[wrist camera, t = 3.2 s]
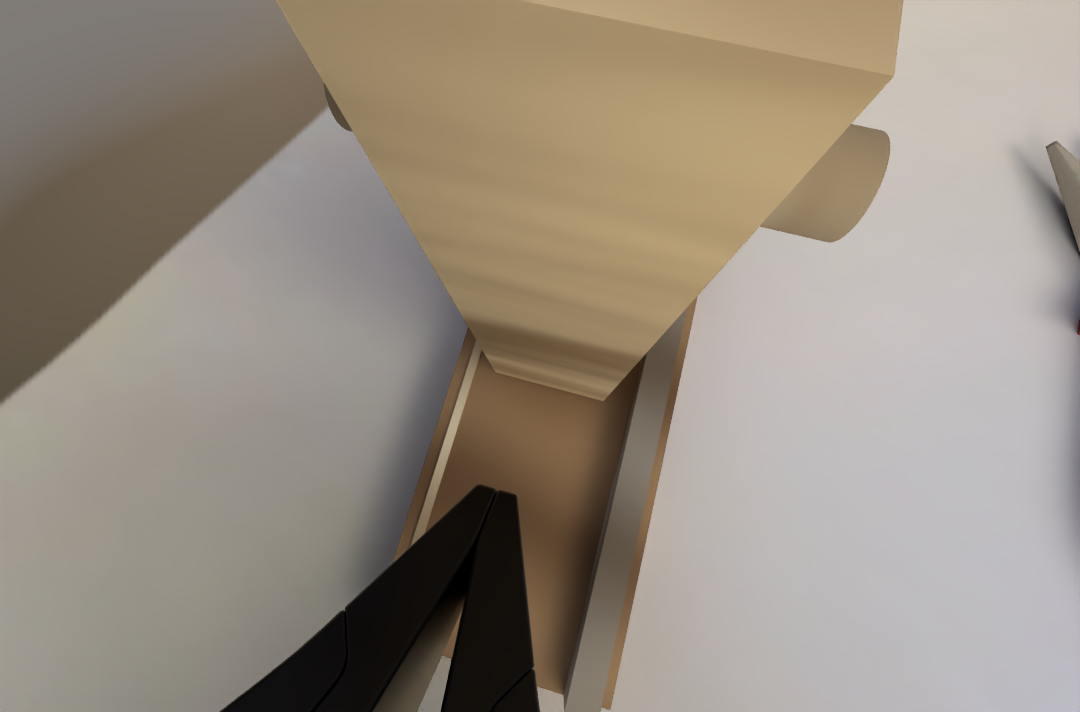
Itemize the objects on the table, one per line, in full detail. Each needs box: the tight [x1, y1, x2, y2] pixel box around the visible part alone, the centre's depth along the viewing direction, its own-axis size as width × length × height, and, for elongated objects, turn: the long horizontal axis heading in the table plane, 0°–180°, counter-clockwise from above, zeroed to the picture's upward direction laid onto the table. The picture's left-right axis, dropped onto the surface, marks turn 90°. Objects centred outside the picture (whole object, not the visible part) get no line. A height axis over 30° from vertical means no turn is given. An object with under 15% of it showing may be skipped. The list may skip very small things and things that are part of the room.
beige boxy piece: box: [276, 0, 903, 401], centre depth 10 cm, size 5×8×15 cm, turn 75°
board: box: [392, 297, 697, 712], centre depth 17 cm, size 21×8×2 cm, turn 165°
